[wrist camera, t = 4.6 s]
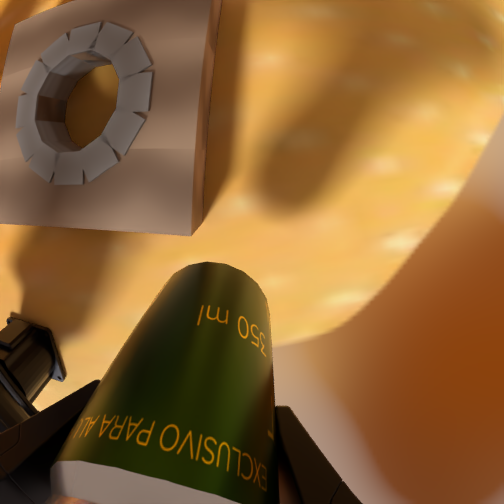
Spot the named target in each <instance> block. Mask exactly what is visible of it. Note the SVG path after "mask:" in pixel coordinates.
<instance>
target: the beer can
mask: <svg viewBox="0 0 504 504" xmlns="http://www.w3.org/2000/svg"><path fill="white" fill-rule="evenodd" d="M50 480H51V492H52V496H50V497H48V498H47V499H46V501H45V504H280V494H279V472H278V450H277V434H276V415H275V393H274V376H273V359H272V342H271V327H270V313H269V308H268V303H267V299H266V297H265V295H264V293H263V292H262V290H261V289H260V287H259V285H258V284H257V283H256V282H255V281H254V280H253V279H252V278H250V277H249V276H248V275H247V274H246V273H245V272H243V271H241V270H239V269H236V268H234V267H232V266H230V265H227V264H223V263H214V262H203V263H197V264H192V265H188V266H186V267H185V268H183V269H181V270H179V271H178V272H176V273H174V274H173V275H172V277H171V278H170V279H169V280H168V281H167V282H166V284H165V285H164V286H163V288H162V289H161V290H160V292H159V293H158V295H157V296H156V298H155V299H154V300H153V302H152V303H151V305H150V306H149V308H148V309H147V311H146V312H145V314H144V315H143V317H142V318H141V320H140V321H139V323H138V324H137V326H136V327H135V329H134V330H133V332H132V333H131V335H130V336H129V338H128V339H127V341H126V342H125V344H124V345H123V347H122V348H121V350H120V351H119V353H118V355H117V356H116V358H115V359H114V361H113V362H112V364H111V365H110V367H109V369H108V370H107V372H106V373H105V375H104V377H103V378H102V380H101V381H100V383H99V385H98V386H97V388H96V389H95V391H94V393H93V394H92V396H91V398H90V399H89V401H88V403H87V404H86V406H85V408H84V409H83V411H82V413H81V414H80V416H79V418H78V419H77V421H76V423H75V425H74V426H73V428H72V430H71V431H70V433H69V435H68V437H67V438H66V440H65V442H64V444H63V445H62V447H61V449H60V451H59V453H58V454H57V456H56V458H55V460H54V462H53V464H52V465H51V467H50Z"/></svg>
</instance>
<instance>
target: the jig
mask: <svg viewBox="0 0 504 504" xmlns="http://www.w3.org/2000/svg"><path fill="white" fill-rule="evenodd" d="M221 5H222V0H74V1H71V2H68V3H65V4H62V5H60V6H57V7H54V8H52V9H49V10H46V11H44V12H41V13H39V14H37V15H34V16H32V17H30V18H28V19H25V20H23V21H21V22H19V23H17V24H15V26H14V30H13V33H12V37H11V41H10V44H9V48H8V52H7V57H6V61H5V66H4V71H3V76H2V82H1V88H0V224H15V225H32V226H49V227H65V228H81V229H96V230H111V231H126V232H140V233H155V234H168V235H182V236H192V234H193V233H194V232H195V231H196V230H197V229H198V227H199V226H200V225H201V224H202V220H203V198H204V179H205V163H206V148H207V134H208V122H209V110H210V99H211V88H212V78H213V69H214V60H215V51H216V43H217V35H218V27H219V19H220V12H221ZM110 64H113V66H114V69H115V71H116V73H117V75H118V78H119V87H118V95H117V104H116V109H115V111H114V113H113V114H112V116H111V118H110V120H109V121H108V123H107V125H106V127H105V129H104V130H103V132H102V134H101V135H100V136H99V137H98V138H96V139H95V140H94V141H92V142H91V143H90V144H88V145H87V146H86V147H84V148H83V149H82V148H81V147H80V146H78V145H77V144H75V143H74V142H72V140H71V138H70V135H69V133H68V130H67V128H66V125H65V112H66V103H67V99H68V97H69V96H70V94H71V92H72V90H73V88H74V87H75V85H76V83H77V81H78V80H79V79H81V78H82V77H83V76H84V75H86V74H87V73H88V72H90V71H91V70H92V69H94V68H95V67H98V66H104V65H110Z"/></svg>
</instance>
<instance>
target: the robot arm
mask: <svg viewBox="0 0 504 504" xmlns="http://www.w3.org/2000/svg"><path fill="white" fill-rule="evenodd" d="M51 378H52V379H55V380H58V381H61V382H63V381H64V380H65V376H64V373H63V370H62V367H61V364H60V360H59V357H58V354H57V351H56V347H55V344H54V340H53V337H52V333H51V331H50V330H49V329H48V328H45V327H42V326H38V325H35V324H31V323H28V322H24V321H21V320H18V319H15V318H12V317H9V318H8V319H7V326H6V327H5V328H4V329H2V330H1V331H0V504H45V501H46V499H47V498H48V497H50V496H52V492H51V480H50V467H51V465H52V464H53V462H54V460H55V458H56V456H57V454H58V453H59V451H60V449H61V447H62V445H63V444H64V442H65V440H66V438H67V437H68V435H69V433H70V431H71V430H72V428H73V426H74V425H75V423H76V421H77V419H78V418H79V416H80V414H81V413H82V411H83V409H84V408H85V406H86V404H87V403H88V401H89V399H90V398H91V396H92V394H93V393H94V391H95V389H96V388H97V386H98V385H99V383H100V381H101V380H94V381H92V382H91V383H89V384H87V385H85V386H84V387H82V388H80V389H79V390H77V391H75V392H74V393H72V394H70V395H68V396H67V397H65V398H63V399H62V400H60V401H58V402H56V403H55V404H53V405H51V406H49V407H48V408H46V409H44V410H42V411H41V412H39V411H37V409H36V408H35V407H34V406H33V405H32V403H33V402H34V400H35V399H36V398H37V396H38V395H39V394H40V392H41V391H42V390H43V388H44V387H45V386H46V385H47V383H48V382H49V381H50V380H51ZM275 415H276V434H277V450H278V472H279V494H280V504H362V503H361V502H360V501H359V499H358V498H357V497H356V496H355V495H354V494H353V493H352V491H351V490H350V489H349V487H348V486H347V485H346V483H345V482H344V481H342V479H341V477H340V476H339V474H338V473H337V472H336V471H335V469H334V468H333V467H332V465H331V464H330V463H329V461H328V460H327V459H326V457H325V456H324V454H323V453H322V452H321V450H320V449H319V448H318V446H317V445H316V444H315V442H314V441H313V439H312V438H311V437H310V436H309V434H308V432H307V431H306V430H305V428H304V427H303V426H302V424H301V423H300V421H299V420H298V418H297V417H296V415H295V414H294V413H293V411H292V410H291V408H290V407H288V406H276V407H275Z"/></svg>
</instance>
